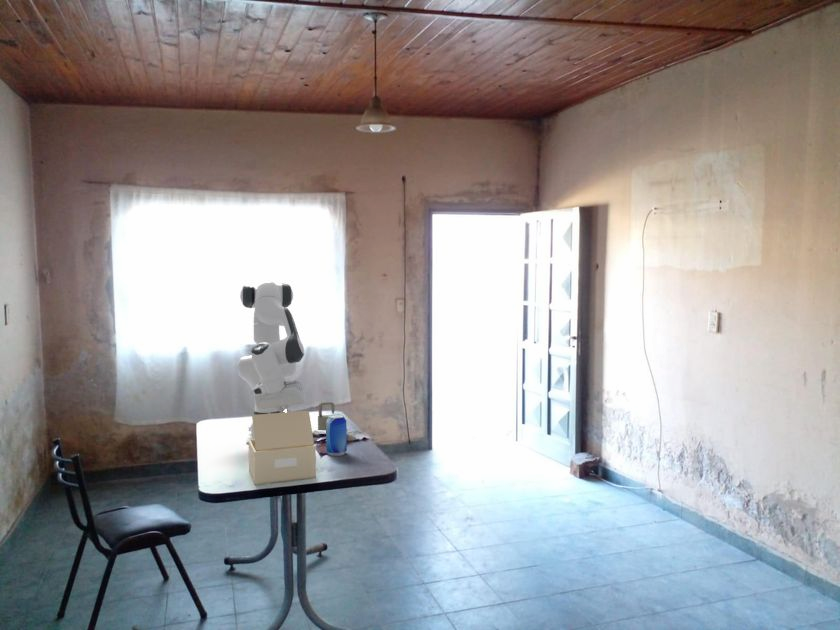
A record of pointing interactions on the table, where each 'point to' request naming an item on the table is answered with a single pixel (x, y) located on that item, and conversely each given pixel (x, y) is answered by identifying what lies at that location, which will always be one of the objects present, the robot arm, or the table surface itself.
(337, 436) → the beer can
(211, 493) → the table surface
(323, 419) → the padlock
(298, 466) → the carton
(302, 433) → the carton flap
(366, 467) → the table surface
